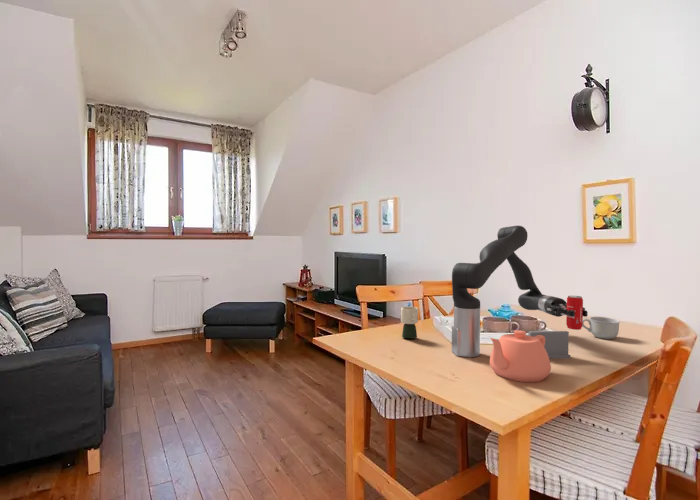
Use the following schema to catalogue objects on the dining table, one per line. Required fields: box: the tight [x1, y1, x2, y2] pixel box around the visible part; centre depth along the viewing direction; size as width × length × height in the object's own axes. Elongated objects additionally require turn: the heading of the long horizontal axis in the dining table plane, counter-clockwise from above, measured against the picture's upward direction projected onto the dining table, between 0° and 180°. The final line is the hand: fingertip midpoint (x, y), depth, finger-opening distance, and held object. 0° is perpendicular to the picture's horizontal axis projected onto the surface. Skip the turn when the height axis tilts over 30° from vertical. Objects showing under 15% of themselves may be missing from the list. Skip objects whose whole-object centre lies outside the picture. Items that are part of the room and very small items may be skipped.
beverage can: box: [566, 295, 584, 331], centre depth 141 cm, size 5×5×12 cm
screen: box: [527, 330, 571, 359], centre depth 135 cm, size 14×4×9 cm, turn 94°
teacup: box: [582, 316, 621, 340], centre depth 163 cm, size 14×11×8 cm
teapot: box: [489, 329, 552, 383], centre depth 117 cm, size 25×17×13 cm
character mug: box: [400, 306, 419, 340], centre depth 160 cm, size 11×7×13 cm, turn 14°
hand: (580, 313), depth 139 cm, fingers closed on beverage can, 4 cm apart
